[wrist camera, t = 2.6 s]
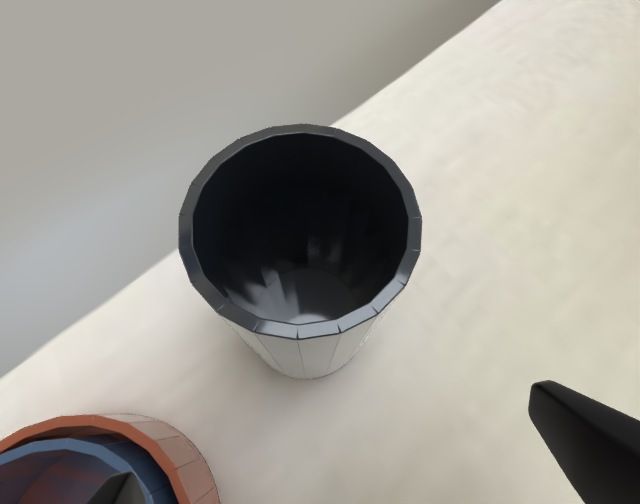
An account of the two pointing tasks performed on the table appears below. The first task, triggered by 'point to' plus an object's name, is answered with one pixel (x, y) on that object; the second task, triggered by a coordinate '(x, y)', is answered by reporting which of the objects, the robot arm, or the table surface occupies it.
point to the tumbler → (300, 242)
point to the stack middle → (112, 448)
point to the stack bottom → (149, 433)
